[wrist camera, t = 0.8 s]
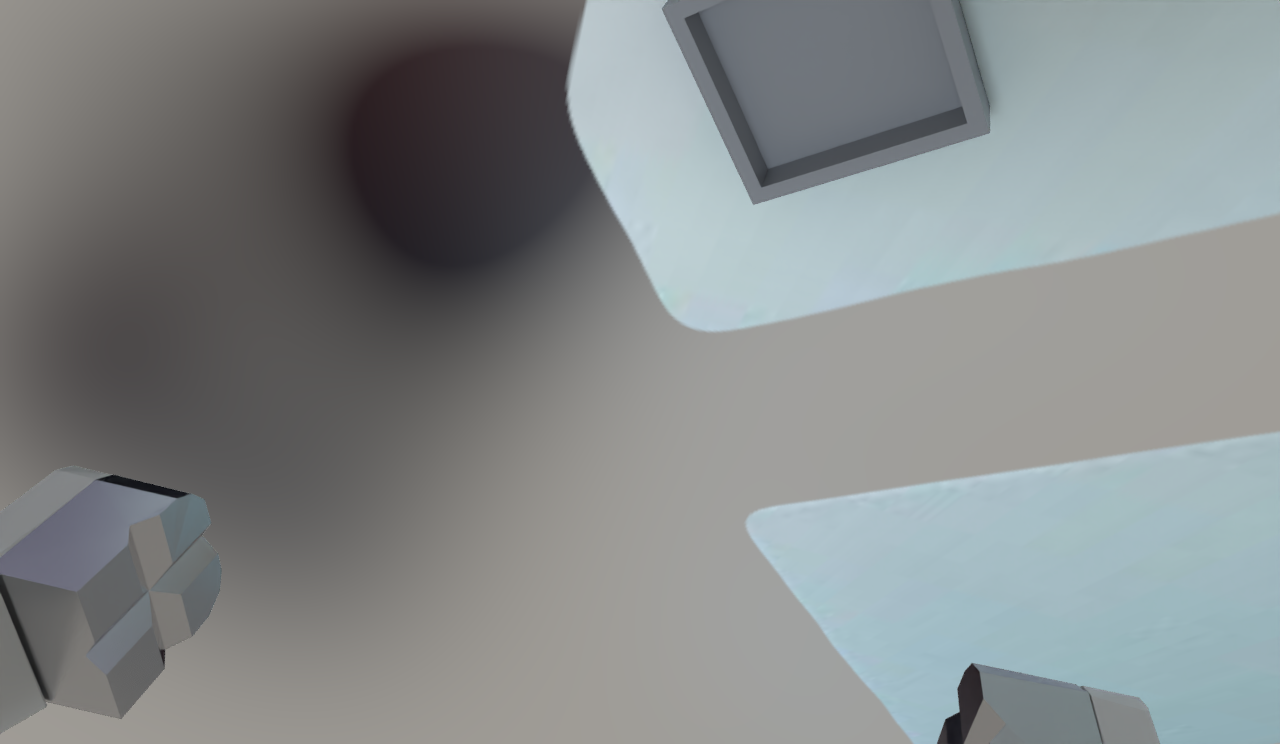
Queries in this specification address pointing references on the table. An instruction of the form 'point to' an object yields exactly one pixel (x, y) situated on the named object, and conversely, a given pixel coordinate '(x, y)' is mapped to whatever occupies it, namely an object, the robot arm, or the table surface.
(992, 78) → the table surface
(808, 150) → the tray
